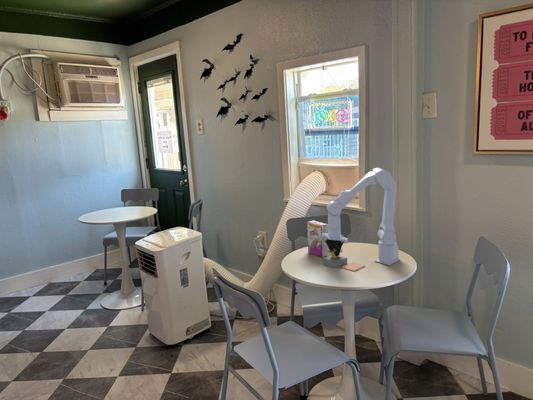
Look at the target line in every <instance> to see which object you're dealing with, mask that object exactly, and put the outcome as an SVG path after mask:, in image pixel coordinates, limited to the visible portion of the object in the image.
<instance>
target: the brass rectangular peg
mask: <svg viewBox="0 0 533 400" xmlns="http://www.w3.org/2000/svg"><path fill="white" fill-rule="evenodd" d="M341 253H343V247H341V250H340V254H341ZM327 255H328V256H331V258H332V259H335V260H336V259H338V258H339V256H335V249H332V250H329V251H327Z"/></svg>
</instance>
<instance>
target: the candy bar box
mask: <svg viewBox="0 0 533 400" xmlns="http://www.w3.org/2000/svg"><path fill="white" fill-rule="evenodd" d="M306 230H307V231H306V233H307V252H308V253H309V254H312V255H315V256H318V257H320V258H324V257H327V256H328V255H327V251H329V248H328V246H327V244H326V242H325V241H326V240H327V238H321V234H322V233H328V223H324V222H320V221H318V220H311V221H310V220H309V221H307V222H306Z"/></svg>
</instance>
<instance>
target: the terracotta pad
mask: <svg viewBox="0 0 533 400" xmlns="http://www.w3.org/2000/svg"><path fill="white" fill-rule="evenodd" d="M365 267H366V265H364V264H361V263H357V262H353V261H351V262H350V263H347V264H345V265H343V266H341V269H345V270H347V271H350V272H353V273H355V272H357V271H359V270H361V269H363V268H365Z"/></svg>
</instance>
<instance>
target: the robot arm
mask: <svg viewBox="0 0 533 400" xmlns="http://www.w3.org/2000/svg"><path fill="white" fill-rule="evenodd" d="M377 183H378V184H380V186H382V188H383V189H384V193H383V194H384V195H383V204H382V205H383V207H382V219H381V223H380V224H379V228H378V230H377V233H376V234H377V237H378V238H379V240H378V258H376V259H374V262H375V263H380V264H383V265H387V266H390V265H391V266H392V264H395V263H397V262H399V261H400V260H401V258H399V249H400V247H399V245H398V242H396V241H397V235H396V229H395V226H394V224H395V223H394V222H395V221H394V220H395V212H396V200H397V198H396V197H397V190H398V189H397V187H398V186H397V184H396V181H395V179H394V178H393V175H392V174H391V173H390V172H389V171H388V170H386V169H383V168H381V167H375V168H373V169H372V170H371V171H368V173H366V174H365V175H364V176H363V177H362V178H361V179H359V181H358V182H356V183H355V185H354V186H352V187H351V188H350V189H345V190H342V191H340V194H339V195H337V197H335V198H332V200H331V201H329V202H328V203H327V205H326V206H325V208H326V210H327V224H328V233H322V234H321V238H327V240H326V241H325V242H326V244H327V246H328V248H329V250H332V249H335V256H339V255H340V254H341V253H340V250H341V248H343V245H344V244H346V245H347V244H348V243H349V238H348V237H344V236H343V235H342V233H341V229H342V228H341V214H342V213H341V212H342V210H343V209H344V208H346V207H347V206H348V205H349V204H350V203H351V202H352V201H354V199H355V196H356V195H358V193H360V192H362V191H363V190H364V189H365V188H366V187H368V186H370V185H371V186H373V185H377Z"/></svg>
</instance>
